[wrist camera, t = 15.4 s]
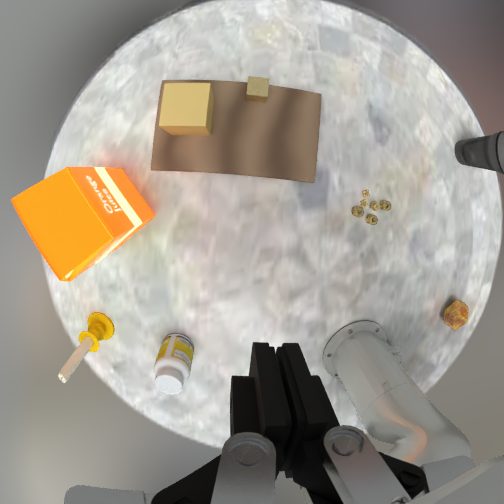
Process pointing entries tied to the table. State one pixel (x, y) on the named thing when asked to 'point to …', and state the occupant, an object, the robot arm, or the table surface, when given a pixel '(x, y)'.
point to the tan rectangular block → (187, 108)
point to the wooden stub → (257, 89)
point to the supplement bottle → (173, 364)
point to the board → (247, 135)
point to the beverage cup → (482, 152)
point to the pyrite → (456, 315)
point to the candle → (88, 342)
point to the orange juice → (81, 216)
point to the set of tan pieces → (374, 205)
